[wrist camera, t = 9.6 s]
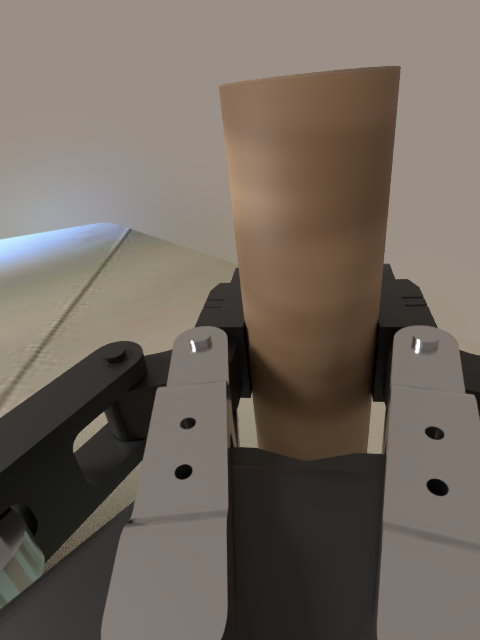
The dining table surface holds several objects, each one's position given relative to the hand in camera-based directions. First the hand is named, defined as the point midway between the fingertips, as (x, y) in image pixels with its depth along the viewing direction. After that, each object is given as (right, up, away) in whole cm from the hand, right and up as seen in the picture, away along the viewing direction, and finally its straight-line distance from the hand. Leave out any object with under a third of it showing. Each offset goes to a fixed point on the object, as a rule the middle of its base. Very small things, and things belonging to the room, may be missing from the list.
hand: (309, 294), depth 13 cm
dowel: (0, -8, +2) cm, 8 cm away
